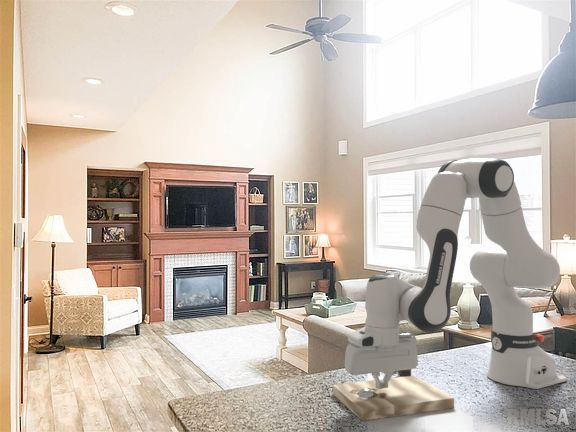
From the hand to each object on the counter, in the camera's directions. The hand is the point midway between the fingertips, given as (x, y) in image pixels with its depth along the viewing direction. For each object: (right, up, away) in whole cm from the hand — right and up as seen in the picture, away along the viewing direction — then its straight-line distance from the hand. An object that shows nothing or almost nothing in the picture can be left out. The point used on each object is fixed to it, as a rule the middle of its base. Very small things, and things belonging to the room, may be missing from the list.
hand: (381, 387), depth 123 cm
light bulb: (+12, -4, +22) cm, 25 cm away
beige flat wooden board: (+3, -4, +1) cm, 5 cm away
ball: (-4, -2, -1) cm, 5 cm away
